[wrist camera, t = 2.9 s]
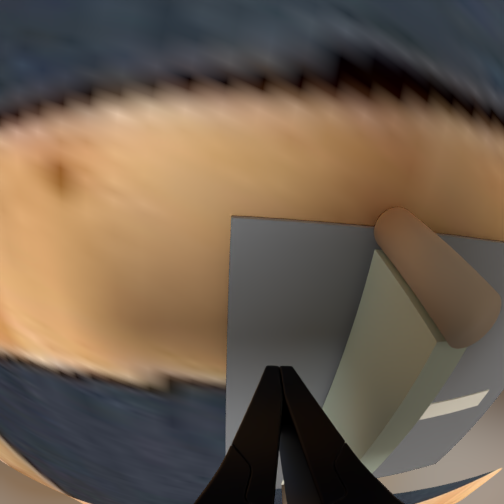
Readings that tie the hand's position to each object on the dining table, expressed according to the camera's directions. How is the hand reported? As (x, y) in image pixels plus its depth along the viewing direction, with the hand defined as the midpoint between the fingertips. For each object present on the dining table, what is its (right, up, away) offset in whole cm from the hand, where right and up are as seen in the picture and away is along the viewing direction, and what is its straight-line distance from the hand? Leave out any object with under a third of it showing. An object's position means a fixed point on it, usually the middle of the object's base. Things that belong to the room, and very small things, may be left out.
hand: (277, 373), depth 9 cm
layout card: (+8, -6, +7) cm, 12 cm away
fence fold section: (+4, 0, +3) cm, 5 cm away
